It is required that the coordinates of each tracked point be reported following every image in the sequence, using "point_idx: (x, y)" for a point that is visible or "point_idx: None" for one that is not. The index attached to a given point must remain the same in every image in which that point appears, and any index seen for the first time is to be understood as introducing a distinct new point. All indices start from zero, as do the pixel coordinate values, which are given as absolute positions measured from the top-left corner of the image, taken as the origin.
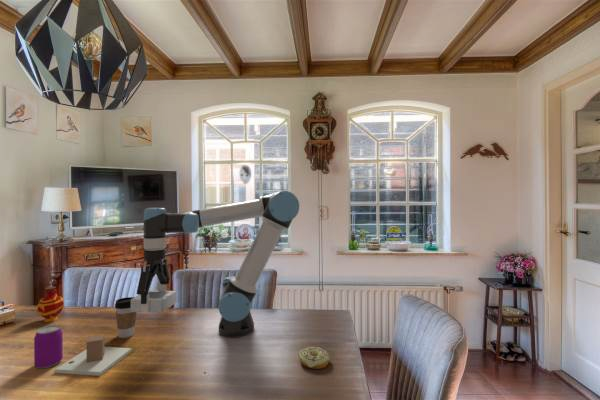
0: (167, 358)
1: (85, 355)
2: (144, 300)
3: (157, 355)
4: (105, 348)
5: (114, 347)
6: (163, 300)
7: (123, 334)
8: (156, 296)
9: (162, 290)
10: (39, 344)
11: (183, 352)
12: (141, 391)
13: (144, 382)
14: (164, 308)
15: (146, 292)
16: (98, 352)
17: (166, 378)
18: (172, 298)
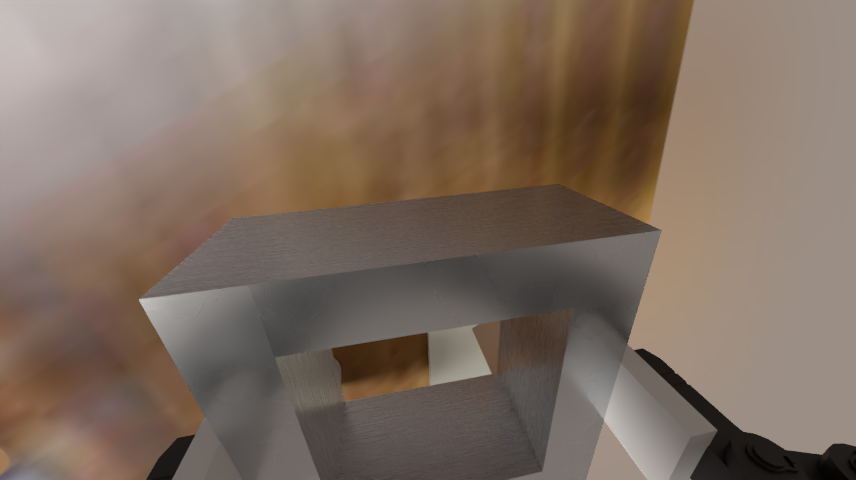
0: (456, 103)
1: (485, 363)
2: (684, 380)
3: (438, 163)
4: (439, 349)
5: (429, 332)
6: (589, 231)
7: (338, 372)
8: (326, 424)
9: (235, 469)
10: None
11: (394, 52)
12: (666, 68)
13: (616, 92)
14: (508, 197)
15: (798, 470)
16: None
17: (602, 13)
18: (319, 239)
